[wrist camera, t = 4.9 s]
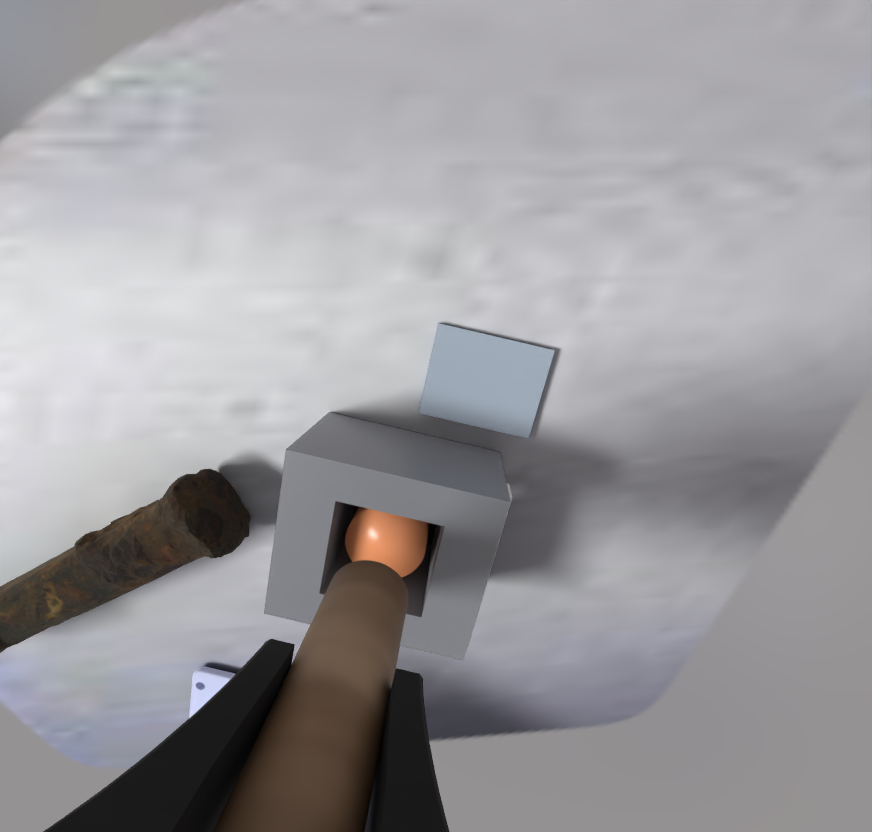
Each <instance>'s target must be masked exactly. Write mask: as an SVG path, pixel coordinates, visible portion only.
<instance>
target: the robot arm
mask: <svg viewBox="0 0 872 832" xmlns="http://www.w3.org/2000/svg"><path fill="white" fill-rule="evenodd" d="M294 645H295V644H291V643H286V642H282V641H278V640H274V639H270V640H268V641H266V642H265V643H264V645H263V646H262V647H261V648H260V649H259V650H258V651H257V652H256V653H255V655H254V656H253V657H252V658H251V659H250V660H249V661H248V662H247V663H246V664H245V665H244V666H243V667H242V668H241V669H240V670H239V671H238V672H237V673H236V674H235V673H230V672H226V671H222V670H218V669H214V668H209V667H204V666H202V667H199V668H198V669H197V670H196V671H195V672H194V674H193V678H192V691H191V703H190V715H189V719H188V720H187V721H186V722H185V723H183V724H182V725H181V726H180V727H179V728H178V729H176V730H175V731H174V732H173V733H172V734H171V735H170V736H168V737H167V738H166V739H165V740H164V741H163V742H162V743H160V744H159V745H158V746H157V747H156V748H154V749H153V750H152V751H151V752H150V753H148V754H147V755H146V756H145V757H143V758H142V759H141V760H140V761H139V762H137V763H136V764H135V765H133V766H132V767H131V768H130V769H128V770H127V771H126V772H125V773H123V774H122V775H121V776H120V777H118V778H117V779H116V780H114V781H113V782H112V783H110V784H109V785H108V786H107V787H105V788H104V789H102V790H101V791H100V792H98V793H97V794H96V795H94V796H93V797H91V798H90V799H89V800H87V801H86V802H84V803H83V804H82V805H80V806H79V807H78V808H76V809H75V810H73V811H72V812H71V813H69V814H68V815H67V816H65V817H64V818H63V819H61V820H59V821H58V822H57V823H55V824H54V825H53V826H51V827H49V828H48V829H46V830H45V831H44V832H213V830H214V828H215V826H216V824H217V822H218V819H219V817H220V815H221V813H222V811H223V809H224V807H225V805H226V802H227V800H228V798H229V796H230V794H231V792H232V790H233V788H234V786H235V783H236V781H237V779H238V777H239V775H240V773H241V771H242V769H243V766H244V764H245V762H246V760H247V758H248V756H249V754H250V752H251V750H252V747H253V745H254V743H255V741H256V739H257V737H258V735H259V733H260V731H261V728H262V726H263V724H264V722H265V720H266V718H267V716H268V714H269V711H270V709H271V707H272V705H273V703H274V701H275V699H276V697H277V695H278V692H279V690H280V688H281V686H282V684H283V682H284V680H285V678H286V675H287V673H288V671H289V669H290V667H291V664H292V657H293V651H294ZM365 832H449V829H448V825H447V821H446V818H445V813H444V809H443V805H442V801H441V797H440V793H439V789H438V784H437V779H436V775H435V770H434V765H433V760H432V754H431V749H430V744H429V738H428V731H427V724H426V717H425V708H424V697H423V678H422V677H421V675H420V674H418V673H413V672H409V671H405V670H401V669H397V668H396V670H395V674H394V678H393V682H392V686H391V690H390V696H389V701H388V706H387V711H386V717H385V722H384V727H383V734H382V741H381V747H380V753H379V758H378V764H377V769H376V774H375V780H374V785H373V790H372V795H371V801H370V806H369V811H368V817H367V822H366V827H365Z"/></svg>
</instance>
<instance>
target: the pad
mask: <svg viewBox="0 0 872 832" xmlns="http://www.w3.org/2000/svg"><path fill="white" fill-rule="evenodd" d="M554 352H555V350H553V349H548V348H544V347H540V346H536V345H531V344H527V343H523V342H518V341H514V340H510V339H505V338H501V337H497V336H492V335H488V334H484V333H480V332H475V331H471V330H467V329H462V328H458V327H454V326H449V325H445V324H441V323H438V327H437V331H436V336H435V340H434V345H433V350H432V354H431V359H430V363H429V368H428V372H427V377H426V381H425V386H424V390H423V395H422V400H421V404H420V409H419V413H420V414H424V415H428V416H433V417H437V418H441V419H445V420H450V421H454V422H458V423H463V424H467V425H471V426H475V427H480V428H484V429H488V430H493V431H497V432H501V433H505V434H510V435H514V436H518V437H523V438H527V439H529V435H530V432H531V429H532V425H533V422H534V419H535V415H536V412H537V409H538V405H539V402H540V399H541V395H542V392H543V389H544V385H545V382H546V379H547V375H548V372H549V368H550V365H551V362H552V358H553V355H554Z"/></svg>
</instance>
